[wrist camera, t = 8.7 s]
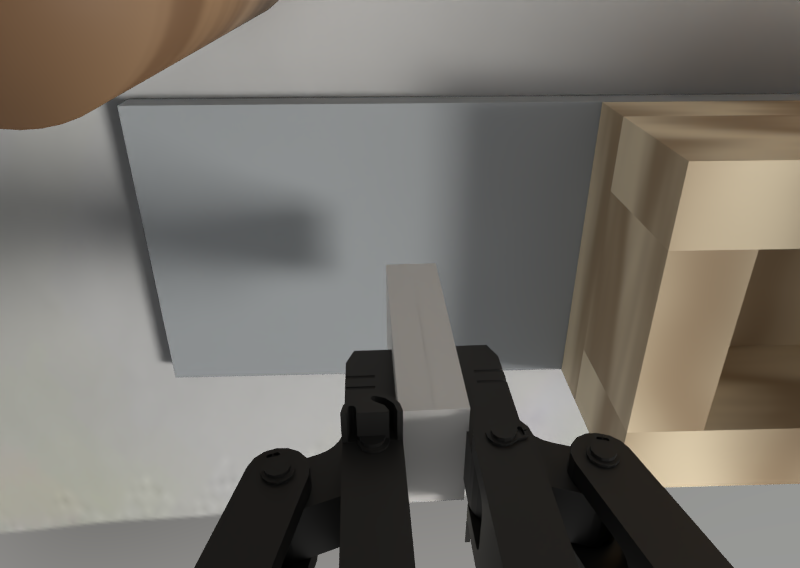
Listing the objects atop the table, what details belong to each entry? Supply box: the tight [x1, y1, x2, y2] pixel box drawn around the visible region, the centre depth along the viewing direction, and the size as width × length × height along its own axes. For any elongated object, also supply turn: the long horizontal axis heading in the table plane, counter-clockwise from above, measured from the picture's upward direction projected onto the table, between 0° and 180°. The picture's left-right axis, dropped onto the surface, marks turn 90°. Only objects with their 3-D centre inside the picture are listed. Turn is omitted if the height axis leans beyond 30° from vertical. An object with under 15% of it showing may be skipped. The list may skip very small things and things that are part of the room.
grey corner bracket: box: [117, 94, 800, 377], centre depth 19 cm, size 29×11×11 cm, turn 90°
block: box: [561, 100, 800, 487], centre depth 21 cm, size 11×11×6 cm
